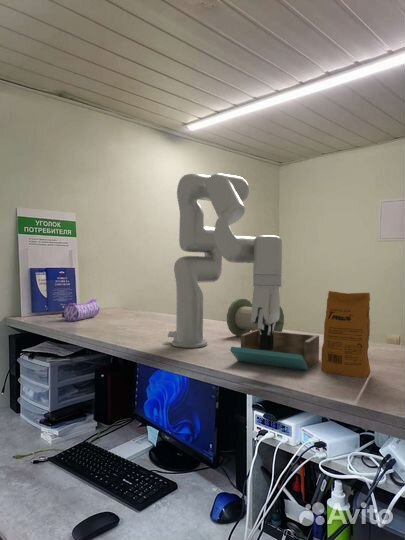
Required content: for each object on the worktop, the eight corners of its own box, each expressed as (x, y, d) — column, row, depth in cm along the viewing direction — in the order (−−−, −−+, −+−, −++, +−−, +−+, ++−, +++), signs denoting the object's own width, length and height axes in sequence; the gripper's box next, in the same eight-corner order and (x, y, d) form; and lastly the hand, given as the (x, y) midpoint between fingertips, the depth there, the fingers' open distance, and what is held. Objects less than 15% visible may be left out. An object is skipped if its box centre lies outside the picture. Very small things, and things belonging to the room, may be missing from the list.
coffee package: (327, 366, 115) (328, 289, 115) (373, 373, 108) (375, 291, 108) (316, 374, 107) (317, 291, 106) (365, 382, 100) (367, 293, 99)
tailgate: (238, 361, 118) (230, 350, 112) (239, 358, 118) (231, 346, 113) (307, 371, 108) (301, 359, 103) (308, 367, 109) (302, 355, 103)
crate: (240, 362, 119) (240, 335, 119) (255, 354, 129) (255, 329, 129) (308, 371, 109) (308, 342, 109) (318, 362, 120) (319, 335, 119)
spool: (226, 337, 160) (226, 299, 159) (252, 333, 169) (252, 297, 169) (258, 343, 147) (258, 303, 147) (283, 339, 157) (284, 300, 157)
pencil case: (77, 322, 196) (78, 303, 196) (61, 321, 198) (61, 302, 198) (100, 316, 217) (100, 299, 217) (85, 316, 219) (85, 298, 219)
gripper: (263, 280, 117) (263, 343, 117) (243, 282, 104) (242, 353, 104) (289, 281, 113) (288, 346, 113) (271, 282, 100) (270, 356, 100)
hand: (266, 349), depth 109 cm, fingers closed
